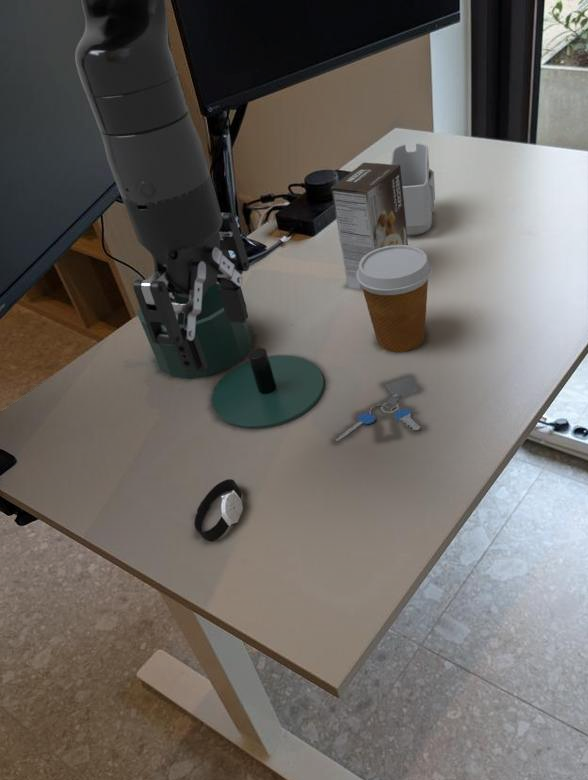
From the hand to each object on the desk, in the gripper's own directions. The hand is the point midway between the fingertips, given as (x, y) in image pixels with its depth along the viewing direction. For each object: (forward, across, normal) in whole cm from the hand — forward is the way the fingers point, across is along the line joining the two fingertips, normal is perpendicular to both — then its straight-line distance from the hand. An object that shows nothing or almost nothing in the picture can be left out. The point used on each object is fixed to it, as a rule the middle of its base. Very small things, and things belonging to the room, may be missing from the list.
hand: (218, 344), depth 67 cm
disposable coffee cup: (+17, -27, +9) cm, 33 cm away
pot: (+17, -20, -19) cm, 32 cm away
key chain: (+17, -11, +13) cm, 24 cm away
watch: (+17, +8, 0) cm, 19 cm away
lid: (+16, -13, -5) cm, 21 cm away
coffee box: (+17, -43, 0) cm, 46 cm away
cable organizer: (+17, -59, +1) cm, 62 cm away
